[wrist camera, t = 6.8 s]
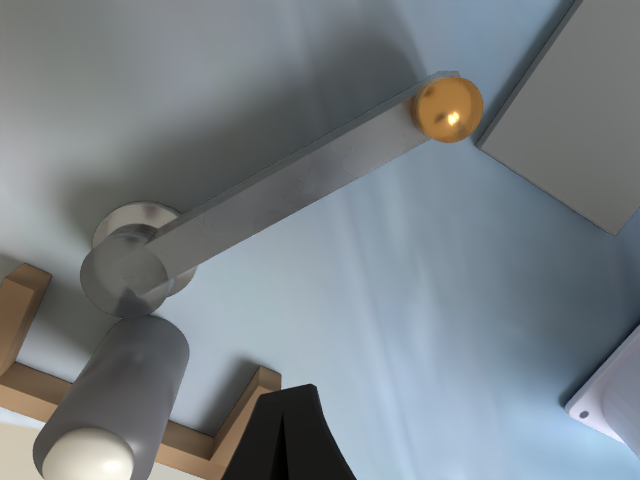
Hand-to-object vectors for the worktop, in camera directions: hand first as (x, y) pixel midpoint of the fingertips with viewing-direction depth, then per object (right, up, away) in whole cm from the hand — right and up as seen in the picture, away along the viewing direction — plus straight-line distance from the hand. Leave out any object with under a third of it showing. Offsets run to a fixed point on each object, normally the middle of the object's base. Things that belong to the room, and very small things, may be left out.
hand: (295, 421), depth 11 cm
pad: (+13, +10, +8) cm, 18 cm away
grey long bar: (-1, +6, +7) cm, 10 cm away
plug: (-8, -1, +11) cm, 13 cm away
